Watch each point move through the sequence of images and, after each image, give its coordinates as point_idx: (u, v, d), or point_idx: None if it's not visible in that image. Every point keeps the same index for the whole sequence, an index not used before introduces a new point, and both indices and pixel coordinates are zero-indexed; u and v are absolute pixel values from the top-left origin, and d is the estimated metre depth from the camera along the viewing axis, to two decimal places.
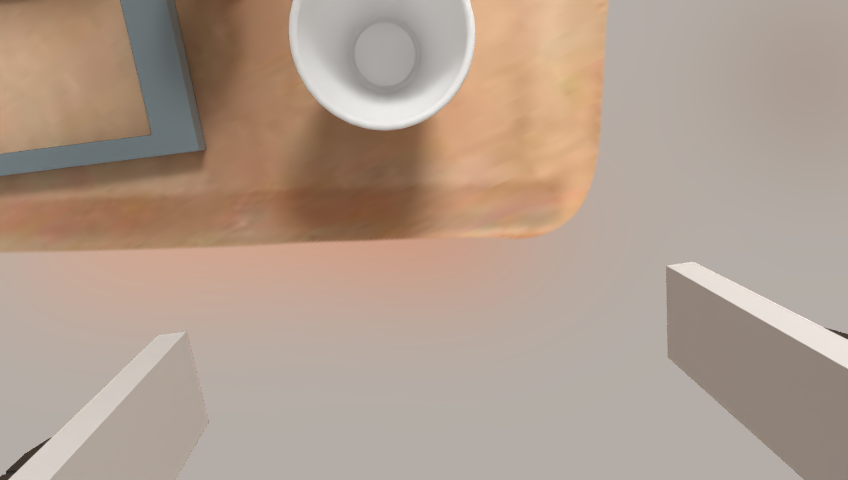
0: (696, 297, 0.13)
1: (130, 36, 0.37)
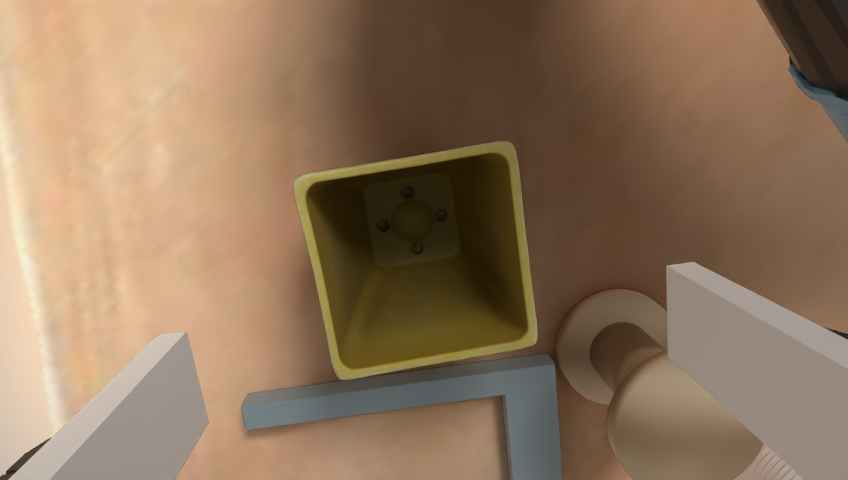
0: (696, 296, 0.13)
1: (513, 460, 0.33)
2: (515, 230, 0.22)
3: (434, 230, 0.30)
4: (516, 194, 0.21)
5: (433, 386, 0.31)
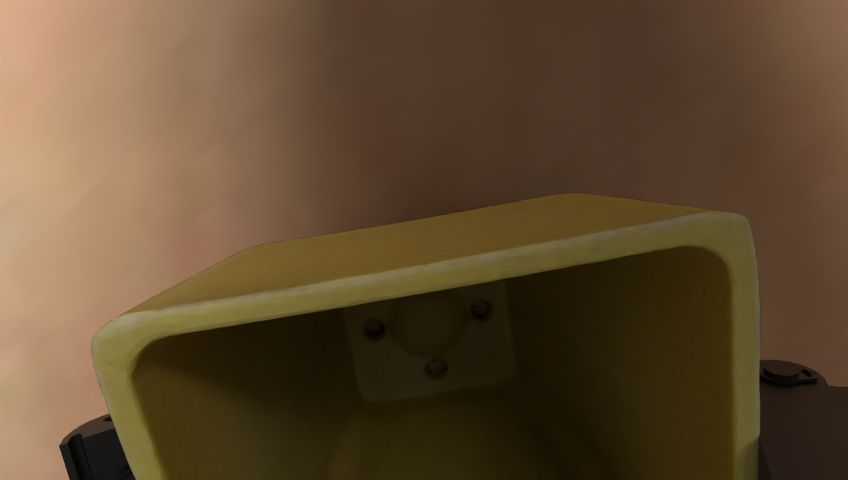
0: None
1: None
2: (729, 449, 0.08)
3: (469, 336, 0.16)
4: (747, 361, 0.07)
5: None
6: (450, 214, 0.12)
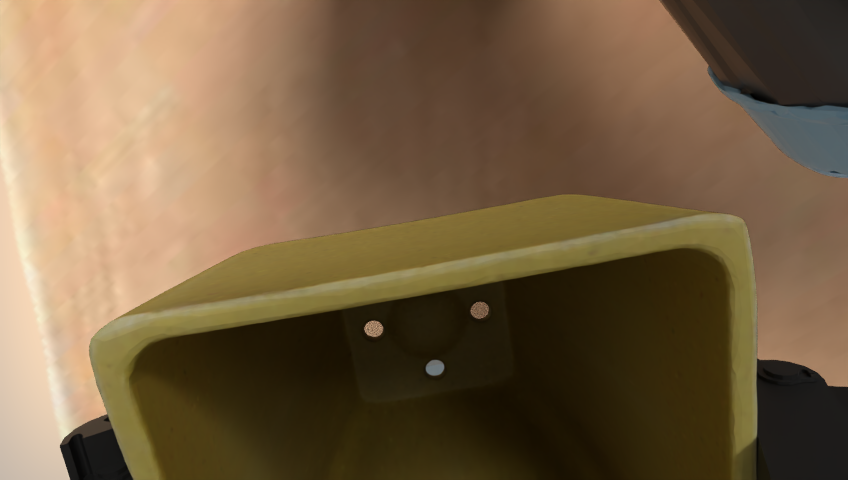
0: None
1: None
2: (726, 450, 0.08)
3: (468, 337, 0.16)
4: (744, 363, 0.07)
5: None
6: (448, 215, 0.12)
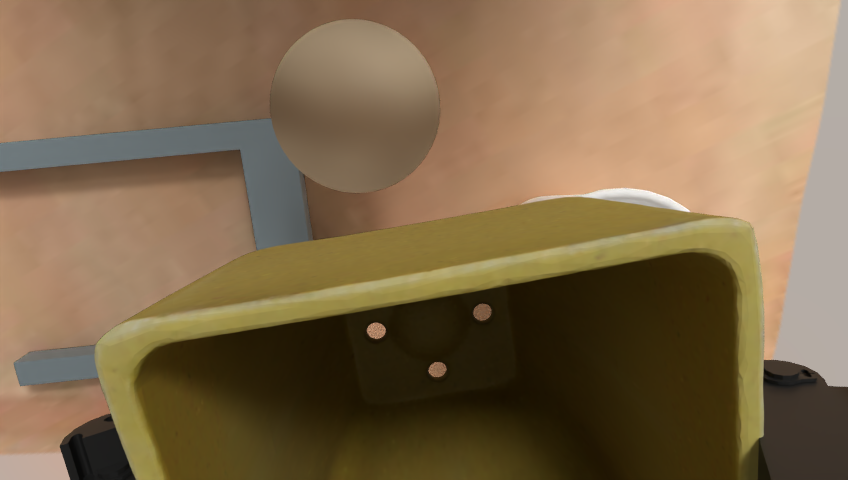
0: None
1: (255, 227, 0.31)
2: (732, 455, 0.08)
3: (471, 339, 0.16)
4: (750, 367, 0.07)
5: (160, 134, 0.30)
6: (452, 218, 0.12)
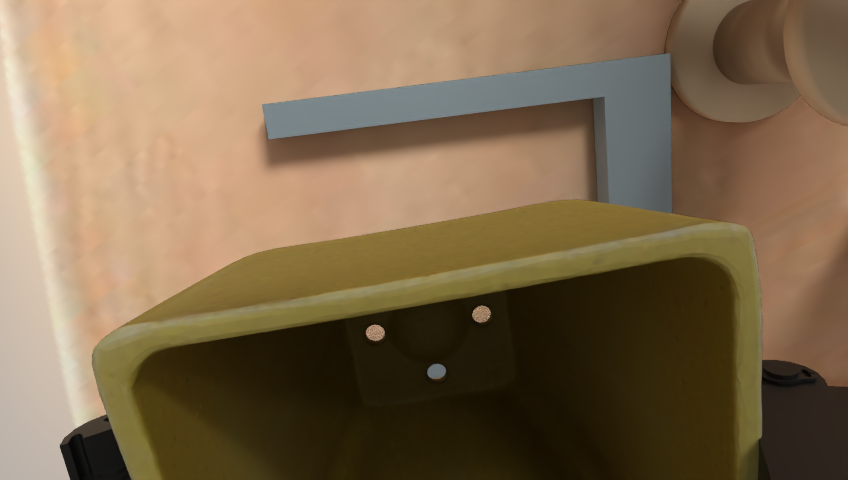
0: None
1: (611, 193, 0.25)
2: (731, 459, 0.08)
3: (470, 341, 0.16)
4: (749, 372, 0.07)
5: (511, 81, 0.24)
6: (451, 221, 0.12)
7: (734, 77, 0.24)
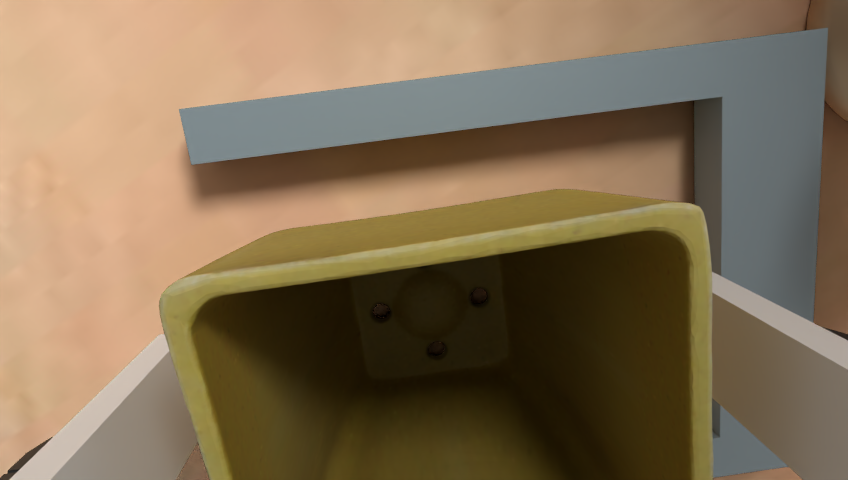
0: None
1: (725, 245, 0.17)
2: (686, 404, 0.09)
3: (468, 320, 0.18)
4: (701, 328, 0.09)
5: (578, 71, 0.15)
6: None
7: None
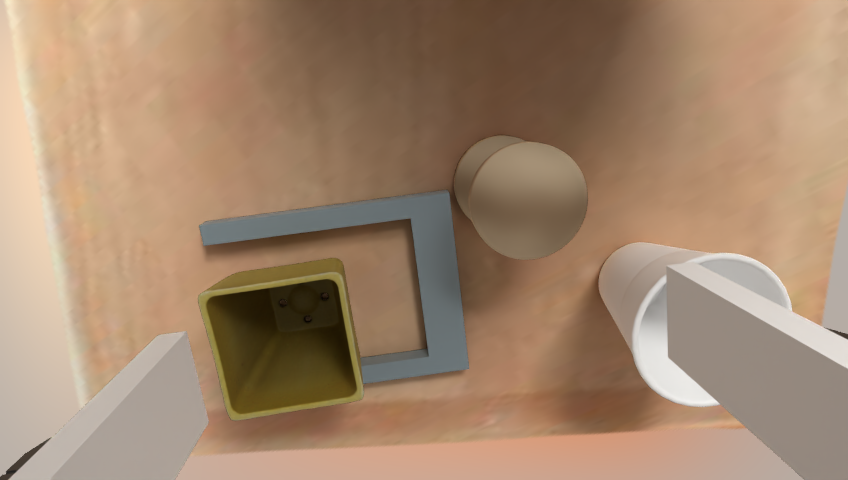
0: (696, 297, 0.13)
1: (419, 275, 0.41)
2: (345, 326, 0.34)
3: (320, 306, 0.42)
4: (343, 304, 0.33)
5: (352, 210, 0.39)
6: (297, 264, 0.37)
7: None
